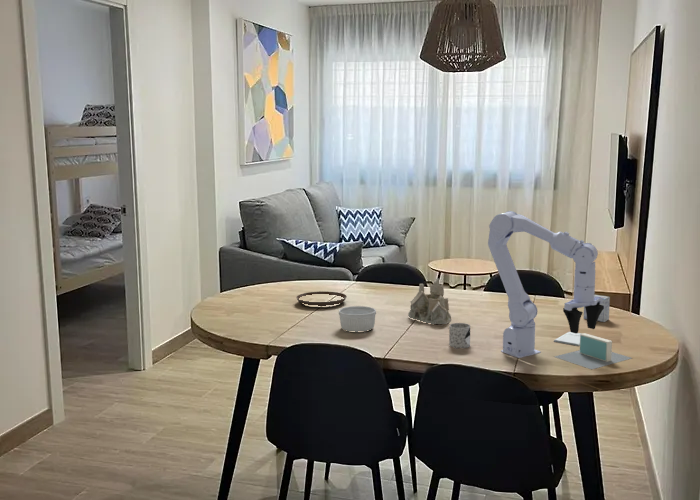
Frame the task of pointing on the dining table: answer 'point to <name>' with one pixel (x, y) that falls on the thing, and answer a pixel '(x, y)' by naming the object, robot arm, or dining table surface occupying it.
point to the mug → (459, 335)
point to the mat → (590, 359)
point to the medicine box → (605, 312)
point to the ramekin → (357, 318)
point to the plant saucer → (322, 302)
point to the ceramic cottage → (430, 305)
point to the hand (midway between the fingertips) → (582, 330)
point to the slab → (595, 347)
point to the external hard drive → (569, 339)
